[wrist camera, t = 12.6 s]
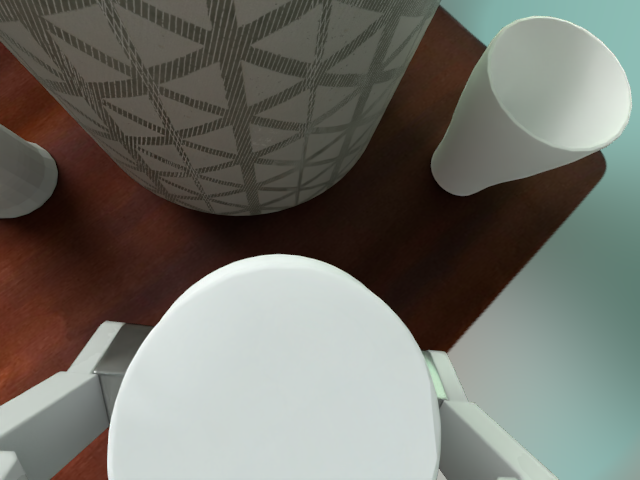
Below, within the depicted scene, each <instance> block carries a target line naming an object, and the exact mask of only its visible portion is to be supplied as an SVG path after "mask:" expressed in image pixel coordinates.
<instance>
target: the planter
mask: <svg viewBox="0 0 640 480" xmlns="http://www.w3.org/2000/svg"><path fill="white" fill-rule="evenodd" d="M440 2H441V0H0V41H1V42H2V43H3V44H4V45H5V46H6V47H7V48H8V50H9V51H10V52H11V53H12V54H13V55H14V56H15V57H16V58H17V59H18V60H19V61H20V62H21V63H22V64H23V65H24V66H25V67H26V68H27V70H28V71H29V72H30V73H31V74H32V75H33V76H34V77H35V78H36V79H37V80H38V81H39V82H40V83H41V84H42V85H43V86H44V87H45V89H46V90H47V91H48V92H49V93H50V94H51V95H52V96H53V97H54V98H55V99H56V100H57V101H58V102H59V103H60V104H61V105H62V106H63V107H64V109H65V110H66V111H67V112H68V113H69V114H70V115H71V116H72V117H73V118H74V119H75V120H76V121H77V122H78V123H79V124H80V125H81V126H82V128H83V129H84V130H85V131H86V132H87V133H88V134H89V135H90V136H91V137H92V138H93V139H94V140H95V141H96V142H97V143H98V144H99V145H100V146H101V148H102V149H103V150H104V151H105V152H106V153H107V154H108V155H109V156H110V157H111V158H112V159H113V160H114V161H115V162H116V163H117V164H118V165H119V167H120V168H121V169H123V170H124V171H125V172H126V173H127V174H128V175H129V176H130V177H131V178H132V179H134V180H135V181H136V182H138V183H139V184H140V185H142V186H143V187H144V188H146V189H148V190H149V191H151V192H153V193H154V194H156V195H157V196H160V197H162V198H164V199H166V200H168V201H170V202H172V203H175V204H178V205H180V206H183V207H186V208H189V209H193V210H197V211H201V212H206V213H211V214H217V215H230V216H250V215H259V214H267V213H272V212H277V211H281V210H284V209H288V208H291V207H294V206H297V205H299V204H301V203H304V202H306V201H309V200H310V199H312V198H314V197H316V196H318V195H320V194H321V193H323V192H324V191H326V190H327V189H329V188H330V187H332V186H333V185H334V184H336V183H337V182H338V181H339V180H340V179H342V178H343V177H344V176H345V175H346V174H347V173H348V172H349V171H350V170H351V169H352V167H353V166H354V165H355V164H356V162H357V161H358V160H359V158H360V157H361V155H362V154H363V152H364V151H365V149H366V147H367V145H368V143H369V142H370V140H371V138H372V136H373V134H374V132H375V130H376V128H377V126H378V124H379V122H380V120H381V118H382V116H383V114H384V112H385V110H386V108H387V106H388V104H389V102H390V100H391V98H392V96H393V94H394V92H395V90H396V88H397V86H398V84H399V82H400V80H401V78H402V77H403V75H404V73H405V71H406V69H407V67H408V65H409V63H410V61H411V59H412V57H413V55H414V53H415V51H416V49H417V47H418V45H419V43H420V41H421V39H422V37H423V35H424V33H425V31H426V29H427V27H428V25H429V23H430V21H431V19H432V17H433V15H434V13H435V12H436V10H437V8H438V6H439V4H440Z"/></svg>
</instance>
